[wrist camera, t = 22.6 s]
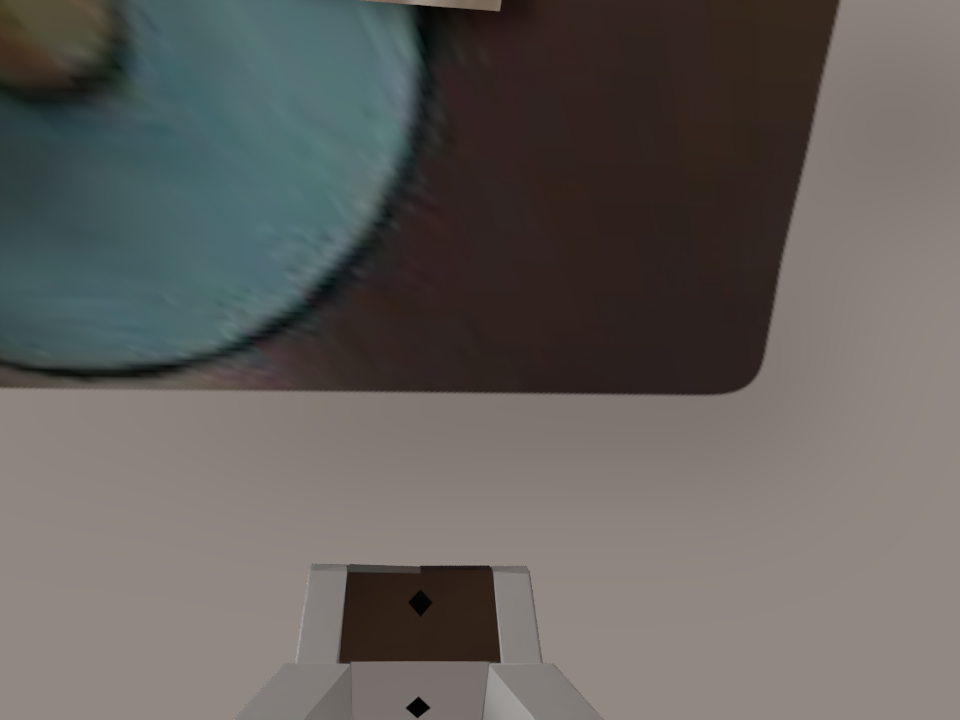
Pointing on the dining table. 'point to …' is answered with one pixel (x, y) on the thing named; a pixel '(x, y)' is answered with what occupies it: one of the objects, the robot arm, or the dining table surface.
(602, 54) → the dining table surface
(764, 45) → the dining table surface
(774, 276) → the dining table surface
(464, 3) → the domino
